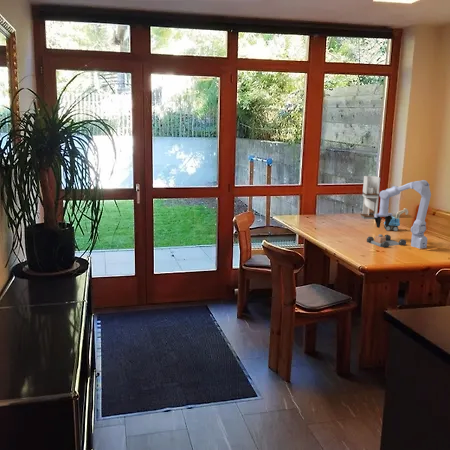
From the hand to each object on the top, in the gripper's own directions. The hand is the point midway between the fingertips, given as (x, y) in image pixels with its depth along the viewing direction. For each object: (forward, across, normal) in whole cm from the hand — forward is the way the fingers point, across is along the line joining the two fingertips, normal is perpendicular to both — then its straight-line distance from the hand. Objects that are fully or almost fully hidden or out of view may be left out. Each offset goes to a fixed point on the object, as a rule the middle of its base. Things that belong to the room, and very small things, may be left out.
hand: (382, 227), depth 335 cm
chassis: (+9, +6, +11) cm, 16 cm away
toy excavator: (+10, -33, -21) cm, 40 cm away
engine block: (+8, +11, +11) cm, 17 cm away
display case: (+10, -48, -67) cm, 83 cm away
